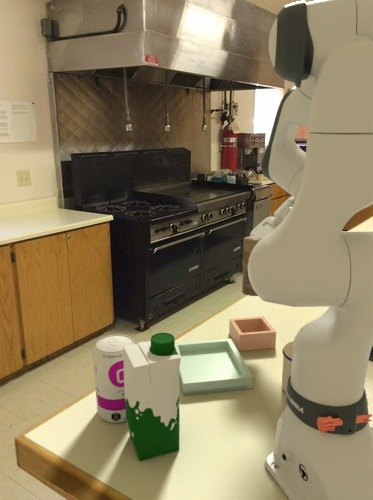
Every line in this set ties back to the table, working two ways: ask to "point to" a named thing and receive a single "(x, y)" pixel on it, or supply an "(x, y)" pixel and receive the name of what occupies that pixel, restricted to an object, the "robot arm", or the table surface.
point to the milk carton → (152, 395)
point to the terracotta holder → (252, 333)
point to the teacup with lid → (286, 364)
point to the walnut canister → (247, 249)
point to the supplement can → (110, 377)
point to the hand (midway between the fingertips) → (251, 260)
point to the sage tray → (212, 367)
